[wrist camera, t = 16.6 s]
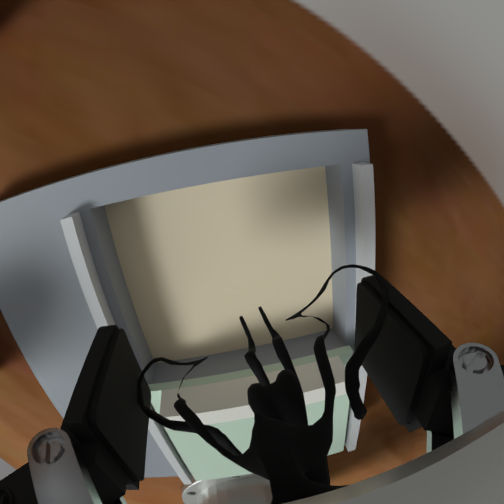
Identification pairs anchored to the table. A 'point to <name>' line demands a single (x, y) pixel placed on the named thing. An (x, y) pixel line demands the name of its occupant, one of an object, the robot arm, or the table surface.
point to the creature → (284, 412)
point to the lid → (245, 410)
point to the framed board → (192, 262)
